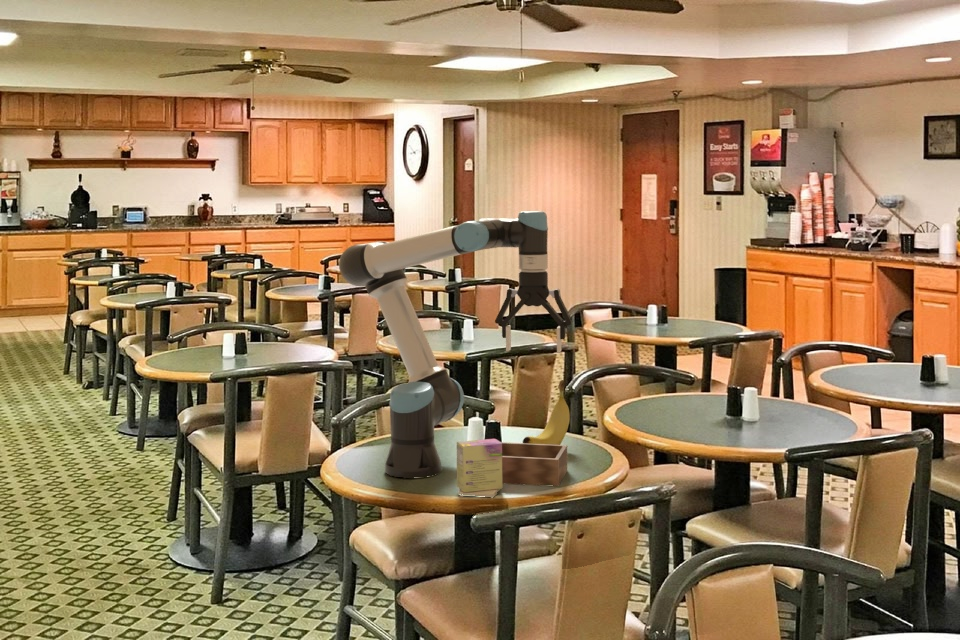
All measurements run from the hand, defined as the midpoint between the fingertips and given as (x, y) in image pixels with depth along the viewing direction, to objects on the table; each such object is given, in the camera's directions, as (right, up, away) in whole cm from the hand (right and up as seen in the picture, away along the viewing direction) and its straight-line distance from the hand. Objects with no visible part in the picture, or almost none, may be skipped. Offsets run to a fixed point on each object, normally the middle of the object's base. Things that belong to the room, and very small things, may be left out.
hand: (533, 351), depth 283 cm
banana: (+5, -30, +22) cm, 38 cm away
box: (-14, -34, -14) cm, 40 cm away
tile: (-14, -35, -14) cm, 40 cm away
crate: (-3, -33, 0) cm, 33 cm away
